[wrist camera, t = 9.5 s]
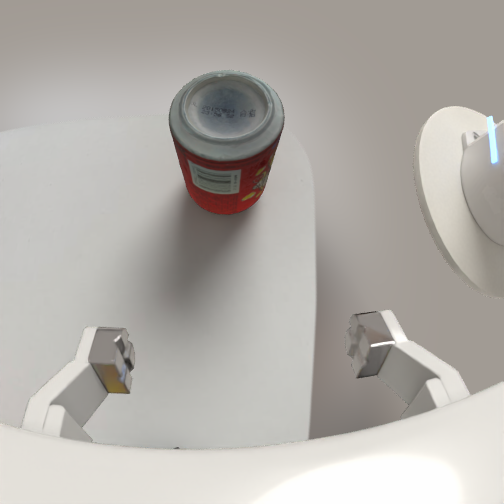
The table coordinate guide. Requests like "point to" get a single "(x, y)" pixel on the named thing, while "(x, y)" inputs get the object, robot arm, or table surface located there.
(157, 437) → the table surface
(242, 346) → the table surface
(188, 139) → the soda can
